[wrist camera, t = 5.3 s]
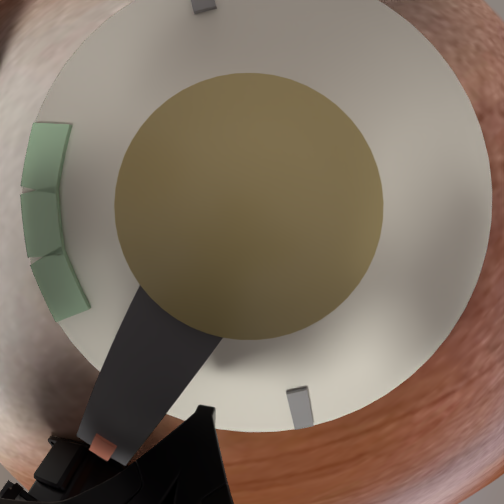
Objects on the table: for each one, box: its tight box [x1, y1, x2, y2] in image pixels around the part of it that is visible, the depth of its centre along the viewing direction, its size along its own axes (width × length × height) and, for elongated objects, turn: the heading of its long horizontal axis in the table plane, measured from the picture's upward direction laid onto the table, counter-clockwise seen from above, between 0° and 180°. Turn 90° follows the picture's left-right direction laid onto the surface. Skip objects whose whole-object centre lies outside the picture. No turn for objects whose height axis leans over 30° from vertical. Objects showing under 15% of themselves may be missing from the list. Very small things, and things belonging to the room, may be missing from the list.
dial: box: [20, 0, 492, 432], centre depth 9 cm, size 19×19×1 cm
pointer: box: [77, 73, 384, 466], centre depth 7 cm, size 11×4×4 cm, turn 147°
